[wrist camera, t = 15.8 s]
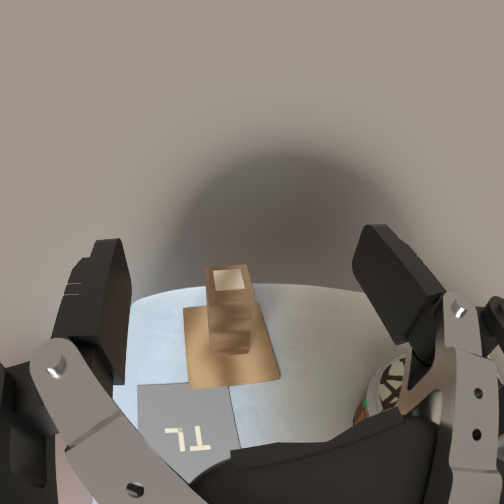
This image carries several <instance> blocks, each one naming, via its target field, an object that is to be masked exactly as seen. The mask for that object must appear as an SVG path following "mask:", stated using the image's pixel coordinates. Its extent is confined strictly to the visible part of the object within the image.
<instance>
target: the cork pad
mask: <svg viewBox="0 0 504 504" xmlns="http://www.w3.org/2000/svg"><path fill="white" fill-rule="evenodd" d="M183 315H184V332H185V346H186V359H187V370H188V381H189V389H202V388H213V387H222V386H235V385H243V384H250V383H257V382H264V381H270V380H276V379H280V374H279V371H278V367H277V364H276V361H275V357H274V354H273V351H272V347H271V344H270V341H269V337H268V334H267V330H266V327H265V324H264V320H263V317H262V313H261V310H260V307H259V303H258V302H254V304H253V313H252V322H251V332H250V341H249V350H248V353H247V354H239V355H230V356H220V357H212V353H211V345H210V338H209V330H208V315H207V306H206V307H194V308H183Z"/></svg>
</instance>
